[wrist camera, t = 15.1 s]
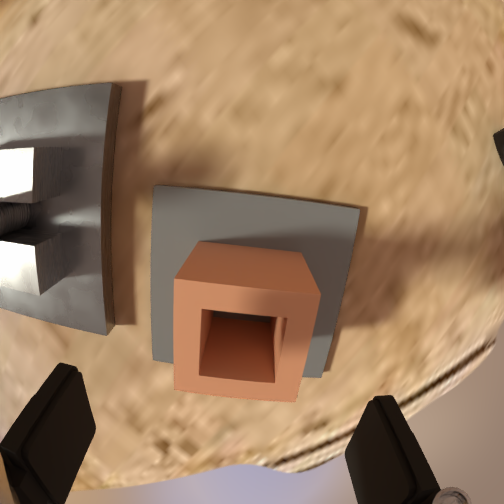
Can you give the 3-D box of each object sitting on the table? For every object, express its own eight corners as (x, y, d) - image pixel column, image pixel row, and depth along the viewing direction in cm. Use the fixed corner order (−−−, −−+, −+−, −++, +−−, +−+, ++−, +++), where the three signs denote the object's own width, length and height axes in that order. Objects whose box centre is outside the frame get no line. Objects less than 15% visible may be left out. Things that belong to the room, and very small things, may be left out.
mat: (156, 184, 18) (153, 185, 18) (357, 207, 18) (360, 209, 18) (155, 355, 21) (152, 360, 21) (319, 372, 22) (321, 377, 21)
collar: (198, 241, 18) (173, 278, 13) (301, 252, 19) (321, 294, 13) (193, 330, 20) (174, 389, 14) (285, 340, 20) (295, 402, 15)
